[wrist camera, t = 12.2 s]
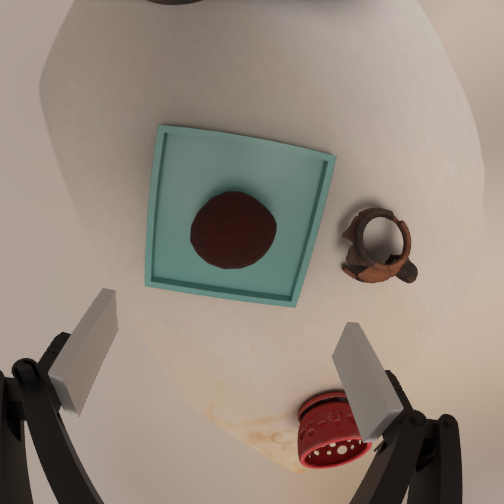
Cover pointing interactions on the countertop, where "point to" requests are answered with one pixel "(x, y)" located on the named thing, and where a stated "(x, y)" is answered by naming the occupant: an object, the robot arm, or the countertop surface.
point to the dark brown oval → (233, 230)
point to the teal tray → (241, 180)
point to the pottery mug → (359, 256)
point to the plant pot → (328, 432)
